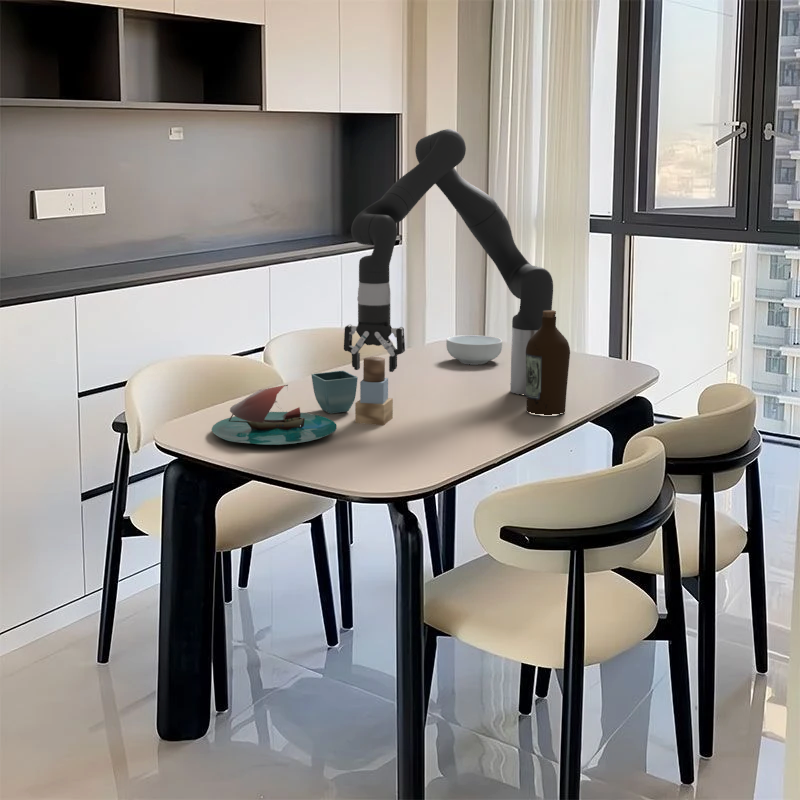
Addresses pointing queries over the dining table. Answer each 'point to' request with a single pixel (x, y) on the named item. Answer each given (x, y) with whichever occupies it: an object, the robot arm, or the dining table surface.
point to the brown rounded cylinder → (374, 369)
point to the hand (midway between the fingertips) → (374, 370)
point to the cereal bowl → (474, 348)
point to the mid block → (374, 392)
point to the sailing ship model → (270, 422)
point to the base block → (374, 412)
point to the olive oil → (547, 368)
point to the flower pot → (334, 390)
